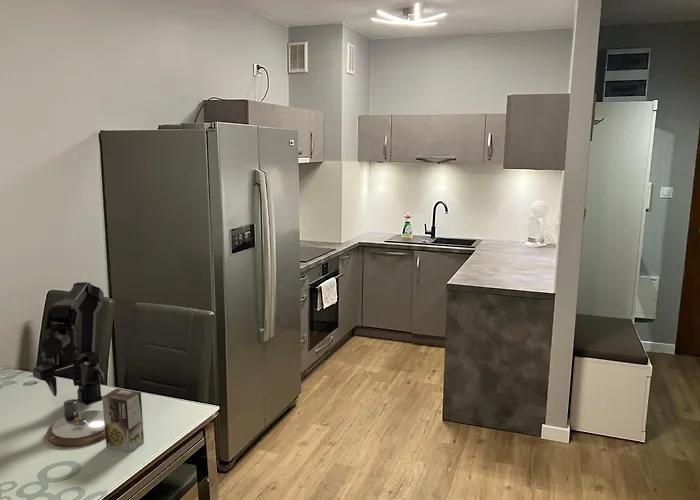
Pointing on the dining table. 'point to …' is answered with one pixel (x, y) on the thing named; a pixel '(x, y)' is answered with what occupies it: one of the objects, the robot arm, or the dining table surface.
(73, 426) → the dial
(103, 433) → the dial base
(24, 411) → the dining table surface
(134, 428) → the coffee box
